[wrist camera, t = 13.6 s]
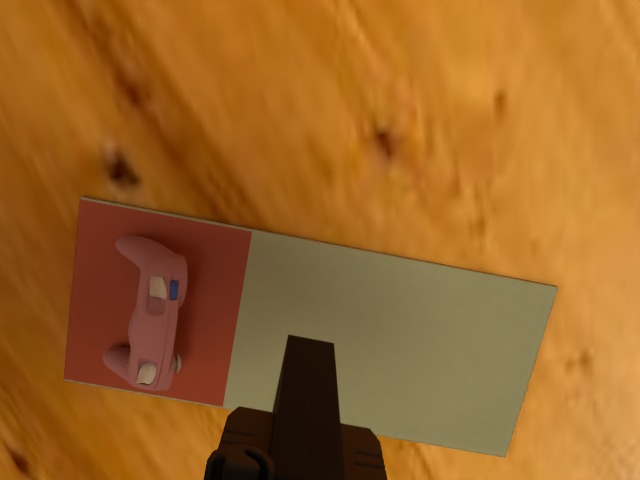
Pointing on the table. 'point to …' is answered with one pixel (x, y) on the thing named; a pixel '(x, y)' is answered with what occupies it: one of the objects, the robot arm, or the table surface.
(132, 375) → the video game controller
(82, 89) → the table surface
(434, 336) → the placemat
